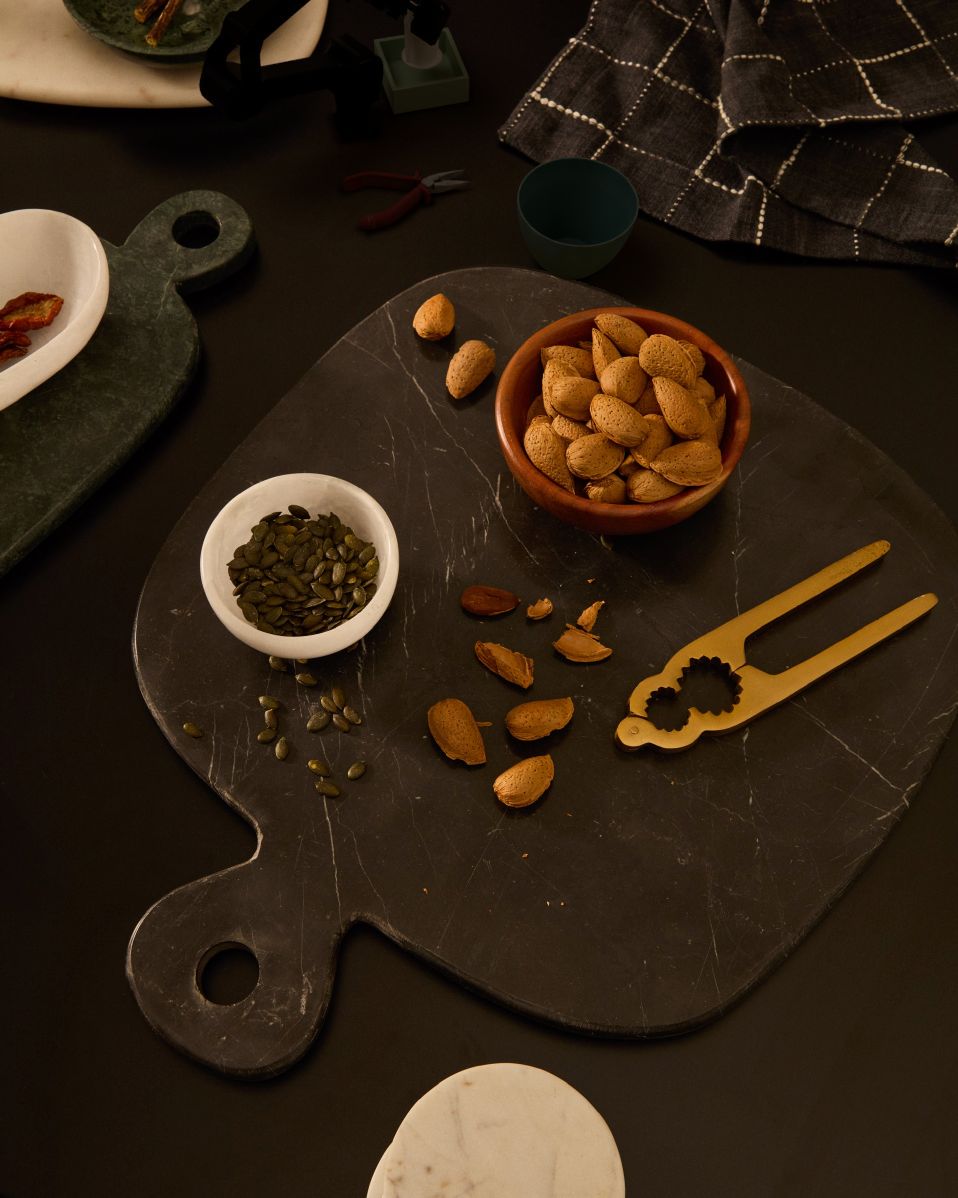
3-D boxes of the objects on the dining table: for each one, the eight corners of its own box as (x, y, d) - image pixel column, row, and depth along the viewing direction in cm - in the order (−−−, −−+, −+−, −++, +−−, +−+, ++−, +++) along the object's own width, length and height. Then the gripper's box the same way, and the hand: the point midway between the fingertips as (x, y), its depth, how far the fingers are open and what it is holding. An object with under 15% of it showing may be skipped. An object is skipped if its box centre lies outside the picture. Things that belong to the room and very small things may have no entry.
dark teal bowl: (646, 252, 157) (661, 191, 146) (585, 322, 151) (595, 264, 140) (554, 202, 162) (561, 139, 151) (490, 268, 155) (493, 207, 144)
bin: (375, 63, 175) (373, 39, 171) (448, 51, 177) (448, 27, 173) (393, 114, 170) (392, 90, 165) (468, 101, 172) (469, 77, 167)
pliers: (479, 205, 161) (479, 192, 158) (362, 235, 157) (361, 222, 155) (455, 159, 165) (455, 146, 163) (342, 186, 162) (340, 174, 160)
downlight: (418, 37, 171) (417, -20, 162) (451, 53, 170) (452, -4, 161) (391, 61, 168) (389, 4, 159) (425, 77, 167) (424, 21, 158)
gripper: (443, -47, 144) (490, -5, 158) (356, -102, 149) (409, -56, 163) (406, 28, 149) (455, 63, 162) (323, -28, 154) (378, 10, 167)
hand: (425, 18), depth 164 cm, fingers closed on downlight, 6 cm apart
